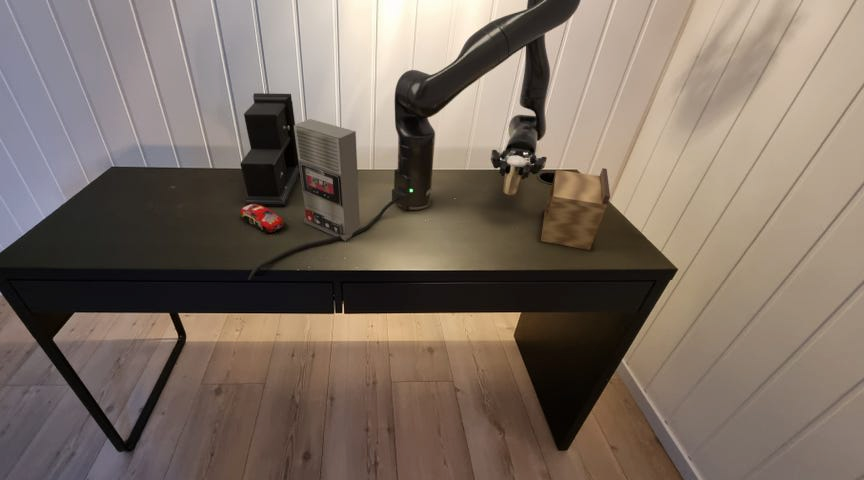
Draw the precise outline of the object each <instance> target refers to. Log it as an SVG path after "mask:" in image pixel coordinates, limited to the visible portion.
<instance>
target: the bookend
mask: <svg viewBox="0 0 864 480" xmlns="http://www.w3.org/2000/svg"><path fill="white" fill-rule="evenodd" d="M252 97H253V104H251V105H250V107H248V108H247V110H246V111H245V112H243V117H244V122H245V129H246V132H247V136H248V142H249V146H250V150H249V151H248V152H247V154H246V155H244V158H243V159H242V160H241V161H240V163H239V165H240V169H241V172H242V177H243V181H244V185H245V190H246V194H247V196H246V198H245V203H246V206H247V205H250V204H258V205H261V206H263V207H285V206H286V204H287V202H288V200H289V197H290V195H291V194H292V191H293V189H294V188H295V185H296V182H297V181H298V178H299V176H300V172H299V171H300V168H299V161H298V154H297V147H296V139H295V132H294V125H295V124H296V121H295V120H296V119H295V112H294V105H293V99H292V93H270V92H269V93H265V92H264V93H262V92H259V93H255V92H254V93H253V96H252ZM295 179H296V180H295ZM294 181H295V182H294Z"/></svg>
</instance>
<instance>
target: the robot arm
mask: <svg viewBox="0 0 864 480" xmlns="http://www.w3.org/2000/svg"><path fill="white" fill-rule="evenodd" d="M581 1H582V0H527V1H526V2H527V3H526V9H523V10H520V11H516V12H512V13H511V14H507V15H504V16H501V17H499V18H497V19H494V20H492V21H489V23H487V24H485V25H484V26H483V27H481V28H479V29H478V30H477V31H475V32H474V33H473V34H472V35H470V36H469V37H468V38H467V40H466V41H465V43H464V44H463V46H462V47H461V50H460V52H459V54H458V55H457V57H456V59H455V60H453V61H452V62H451V63H449V64H448V65H447V66H446V67H444V68H442V69H440V70H439V71H437V72H435V73H432V74H429V73H426V72H423V71H421V70H417V69H409V70H407V71H405V72H403V74H402V75H401V76H400V77H399V79H398V80H397V83H396V85H395V90H394V126H395V130H396V133H397V168H396V169H394V171H393V172H394V174H393V175H394V176H393V182H394V183H393V188H392V190H391V201H389V202H388V203H387V204H386V205H385V206H384V207H382V209H381V210H380V211H379V213H378V214H377V215H375V217H374V218H373V219H372V220H371V221H370V222H369V223H368V224H367V225H365V226H362V227H361V229H359V230H357V231H355V232H354V233H353V234H352V237H353V236H357V235H359V234H361V233H363V232H364V231H367V230H368V229H370V228H371V227H372V226H373V225H375V223H376V222H377V221H378V220H379V219H381V217H382V216H383V214H384V213H385V212H386V211H387V210H388V209H389V208H391V206H392V205H393V204H396V205H397V206H398V207H400V208H401V209H402V210H404V211H419V210H420V211H421V210H424V209H427V208H428V207H429V206H430V205H431V194H432V192H433V190H434V187H433V186H432V181H433V170H434V156H435V144H436V131H435V129H434V127H433V125H431V122H430V120H429V118H431V117H433V116H435V115H437V114H438V113H440V112H441V111H442V110H443V109H444V108H445V107H447V106H448V105H449V104H450V103H451V102H452V101H453V100H454V99H456V98H457V97H458V96H459V95H460V94H461V93H462V92H464V91H465V90H466V89H467V88H469V87H470V86H472V85H473V84H474V83H476V82H477V81H478V80H479V79H481V78H482V77H484V76H485V75H487V74H488V73H489V72H491V71H493V70H494V69H496V68H497V67H498V66H500V65H501V64H503V63H504V62H506V61H507V60H508V59H509V58H510V57H513V56H514V55H515V54H517V53H518V52H519V51H521V50H522V49H524V48H525V53H524V55H525V56H524V57H525V58H524V68H523V69H524V70H523V77H522V83H521V87H520V88H521V89H520V95H519V105H520V106H521V108H524V109H527V110H529V111H532V112H533V113H534V115H530V114H529V115H528V114H516V115H514V116H513V117H511V119H510V121H509V123H508V128H507V129H508V137H509V139H508V141H507V144H506V147H505V149H504V150H503V151H502V152H500V151H498V150H497V149H492V150H491V155H490V162H491V164H492V167H493V168H494V169H499V171H498V174H499V175H500V176H501V177H505V172H506V166H507V165H506V163H507V159H508V158H509V157H510V156H521V157H523V158H524V159H525V160H526V161H527V160H528V159H529V157H530V156H531V155H532V156H531V157H530V159H529V160H528V161H527V163H526V166H525V168H524V170H523V174H522V177H521V180H525V179H527V178H529V174H530V173H531V174H532V175H538V173H540V172H541V171H542V170H543V169H545V167H546V163H547V156H541V157H537V155H536V152H537V147H538V142H539V141H541V140H543V138H544V137H545V135H546V133H547V132H546V131H547V120H546V101H547V96H548V91H549V86H550V80H551V67H550V61H549V56H548V53H547V47H546V34H547V33H549V32H550V31H552V30H554V29H556V28H558V27H560V26H562V25H563V24H565V23H566V22H567V21H569V20H570V19H571V18H572V17H573V16H574V14H575V13H576V11H577V10H578V8H579V6H580V3H581ZM340 240H342V239H341V236H337V237H336V236H334V237H333V236H332V237H330V238H324V239H321V240H316V241H311V242H307V243H304V244H300V245H297V246H294V247H292V248H289V249H288V250H285V251H283V252H280V253H279V254H276V255H275V256H273V257H272V258H269V259H267V260H265V261H262V262H260V263H259V264H258V265H256V266H255V267H254V268H253V270H251V272H250V274H249V275H248V277H247V281H251V280H253V279H254V276H255V275H256V274H257V272H258V271H259V270H261V269H262V268H264V267H266V266H268V265H270V264H272V263H273V262H276V261H277V260H279V259H281V258H283V257H286V256H287V255H289V254H291V253H294V252H296V251H299V250H303V249H306V248H309V247H313V246H317V245H323V244H327V243H330V242H335V241H340ZM261 267H262V268H261Z"/></svg>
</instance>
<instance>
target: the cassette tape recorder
mask: <svg viewBox="0 0 864 480" xmlns="http://www.w3.org/2000/svg"><path fill="white" fill-rule="evenodd" d="M294 132H295V139H296V147H297V154H298V161H299V168H300V174H299V176H300V183H301V189H302V197H303V205H304V211H305V218H303V221H304V224H306V225H309V226H311V227H314V228H315V229H318V230H320V231H322V232H325V233H326V234H329V235H331V236H332V237H333V236H334V237H337V236H341V239H340V240H343V241H344V242H345V241H348V240H349V239H350V238H352V237H353V236H352V234H353V233H354V232H355V231H357V230H359V229H361V228H362V227H361V221H360V220H361V219H360V198H359V197H360V196H359V177H358V174H359V173H358V156H357V154H358V153H357V135H356V134H357V132H356V130H352V129H348V128H345V127H341V126H337V125H334V124H330V123H326V122H323V121H320V120H316V119H312V118H309V119H307V120H303V121H301V122H298V123H295V125H294Z"/></svg>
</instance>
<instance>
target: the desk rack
mask: <svg viewBox="0 0 864 480" xmlns="http://www.w3.org/2000/svg"><path fill="white" fill-rule="evenodd" d="M550 187H551V188H550V190H549V194H548V198H547V202H546V204H545V205H546V206H545V209H544V212H543V213H544V215H543V222H542V228H541V229H542V230H541V238H540V241H541V242H544V243H550V244H556V245H561V246H565V247H566V246H567V247H571V248H577V249H581V250H588V251H591V248H592V246H593V243H594V241H595V238H596V236H597V233H598V230H599V228H600V225H601V222H602V220H603V217H604V214H605V211H606V210H607V206H608V204H609V201H610V198H611V192H610V184H609V175H608V169H607V168H604V167H602V168H601V171H600V174H599V175H598V174H597V175H596V174H589V173H583V172H575V171H569V170H562V169H556V170H555V173H554V177H553V179H552V183H551V186H550Z"/></svg>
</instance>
